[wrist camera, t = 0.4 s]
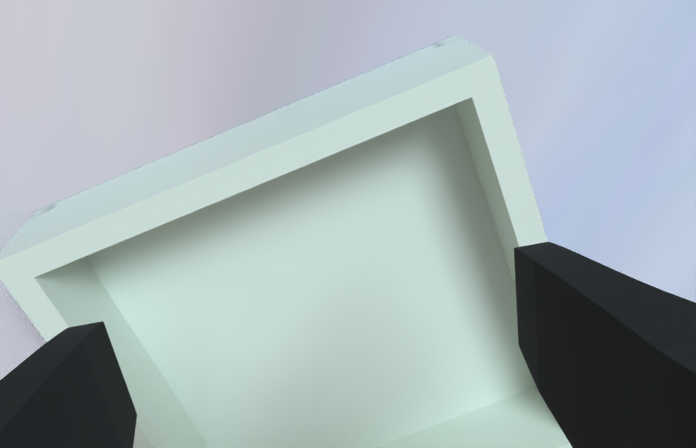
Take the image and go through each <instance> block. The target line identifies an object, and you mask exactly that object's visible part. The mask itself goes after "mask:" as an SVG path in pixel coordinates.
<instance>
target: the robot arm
mask: <svg viewBox="0 0 696 448" xmlns="http://www.w3.org/2000/svg"><path fill="white" fill-rule="evenodd" d="M514 262H515V282H516V303H517V324H518V344H519V347H520V350H521V352H522V354H523V357H524V359H525V361H526V364H527V366H528V369H529V371H530V373H531V375H532V378H533V380H534V382H535V384H536V387H537V389H538V391H539V393H540V395H541V396H542V398H543V400H544V401H545V403H546V405H547V406H548V408H549V410H550V411H551V413H552V415H553V416H554V418H555V420H556V421H557V423H558V425H559V426H560V428H561V430H562V431H563V433H564V434H565V436H566V438H567V439H568V441H569V443H570V444H571V446H572V447H573V448H696V303H694V302H692V301H689V300H686V299H684V298H681V297H678V296H676V295H673V294H670V293H668V292H665V291H663V290H660V289H658V288H655V287H653V286H650V285H648V284H645V283H643V282H641V281H638V280H636V279H634V278H631V277H629V276H627V275H625V274H622V273H620V272H618V271H615V270H613V269H611V268H609V267H607V266H604V265H602V264H600V263H598V262H596V261H593V260H591V259H589V258H587V257H584V256H582V255H580V254H578V253H576V252H573V251H571V250H569V249H566V248H564V247H562V246H559V245H556V244H553V243H551V242H544V243H538V244H533V245H527V246H521V247H516V248H514ZM136 420H137V412H136V410H135V407H134V404H133V401H132V399H131V396H130V393H129V390H128V388H127V385H126V382H125V379H124V377H123V374H122V371H121V368H120V366H119V363H118V360H117V357H116V355H115V352H114V349H113V346H112V344H111V341H110V338H109V335H108V333H107V330H106V327H105V324H104V322H103V321H102V322H96V323H90V324H85V325H79V326H74V327H68V328H67V329H65V330H64V331H62V332H60V333H59V334H58V335H56V336H55V337H53V338H52V339H51V340H49V341H48V342H47V343H46V344H44V345H43V346H42V347H40V348H39V349H38V350H37V351H36V352H34V353H33V354H32V355H31V356H29V357H28V358H27V359H26V360H24V361H23V362H22V363H21V364H20V365H18V366H17V367H16V368H15V369H14V370H12V371H11V372H10V373H9V374H8V375H6V376H5V377H4V378H3V379H1V380H0V448H133V444H134V436H135V428H136Z"/></svg>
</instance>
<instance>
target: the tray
mask: <svg viewBox="0 0 696 448" xmlns="http://www.w3.org/2000/svg"><path fill="white" fill-rule="evenodd" d="M544 242H548V241H547V237H546V234H545V230H544V227H543V224H542V220H541V217H540V213H539V210H538V206H537V203H536V200H535V196H534V193H533V189H532V186H531V183H530V179H529V176H528V172H527V169H526V165H525V162H524V159H523V155H522V152H521V148H520V145H519V142H518V138H517V135H516V131H515V128H514V124H513V121H512V118H511V114H510V111H509V107H508V104H507V101H506V97H505V94H504V90H503V87H502V83H501V80H500V77H499V73H498V70H497V66H496V63H495V60H494V56H493V54H491V53H489V52H487V51H486V50H484V49H482V48H480V47H479V46H477V45H475V44H473V43H472V42H470V41H468V40H466V39H465V38H463V37H461V36H459V35H457V34H456V35H454V36H451V37H449V38H446V39H444V40H442V41H439V42H437V43H434V44H432V45H430V46H427V47H425V48H423V49H420V50H418V51H415V52H413V53H411V54H408V55H406V56H404V57H401V58H399V59H396V60H394V61H392V62H389V63H387V64H385V65H382V66H380V67H377V68H375V69H373V70H370V71H368V72H365V73H363V74H361V75H358V76H356V77H354V78H351V79H349V80H346V81H344V82H342V83H339V84H337V85H335V86H332V87H330V88H327V89H325V90H323V91H320V92H318V93H316V94H313V95H311V96H308V97H306V98H304V99H301V100H299V101H296V102H294V103H292V104H289V105H287V106H285V107H282V108H280V109H277V110H275V111H273V112H270V113H268V114H266V115H263V116H261V117H258V118H256V119H254V120H251V121H249V122H246V123H244V124H242V125H239V126H237V127H235V128H232V129H230V130H227V131H225V132H223V133H220V134H218V135H216V136H213V137H211V138H208V139H206V140H204V141H201V142H199V143H197V144H194V145H192V146H189V147H187V148H185V149H182V150H180V151H177V152H175V153H173V154H170V155H168V156H166V157H163V158H161V159H158V160H156V161H154V162H151V163H149V164H147V165H144V166H142V167H139V168H137V169H135V170H132V171H130V172H128V173H125V174H123V175H120V176H118V177H116V178H113V179H111V180H108V181H106V182H104V183H101V184H99V185H97V186H94V187H92V188H89V189H87V190H85V191H82V192H80V193H78V194H75V195H73V196H70V197H68V198H66V199H63V200H61V201H59V202H56V203H54V204H51V205H49V206H47V207H44V208H42V209H39V210H37V211H36V212H35V213H34V214H33V215H32V216H31V217H30V218H29V220H28V221H27V222H26V223H25V224H24V225H23V226H22V228H21V229H20V230H19V231H18V232H17V233H16V234H15V236H14V237H13V238H12V239H11V240H10V241H9V242H8V244H7V245H6V246H5V247H4V248H3V249H2V250H1V252H0V280H1V281H2V282H3V284H4V285H5V286H6V288H7V289H8V290H9V292H10V293H11V295H12V296H13V297H14V299H15V300H16V301H17V303H18V304H19V305H20V307H21V308H22V309H23V311H24V312H25V314H26V315H27V316H28V318H29V319H30V320H31V322H32V323H33V324H34V326H35V327H36V329H37V330H38V331H39V333H40V334H41V335H42V337H43V338H44V339H45V341H46V342H48V341H49V340H51V339H52V338H53V337H55V336H56V335H58V334H59V333H60V332H62V331H64V330H65V329H67V328H68V327H74V326H79V325H85V324H90V323H96V322H102V321H103V322H104V324H105V327H106V330H107V333H108V335H109V338H110V341H111V344H112V346H113V349H114V352H115V355H116V357H117V360H118V363H119V366H120V368H121V371H122V374H123V377H124V379H125V382H126V385H127V388H128V390H129V393H130V396H131V399H132V401H133V404H134V407H135V410H136V412H137V420H136V428H135V436H134V444H133V448H573V447H572V446H571V444H570V443H569V441H568V439H567V438H566V436H565V434H564V433H563V431H562V430H561V428H560V426H559V425H558V423H557V421H556V420H555V418H554V416H553V415H552V413H551V411H550V410H549V408H548V406H547V405H546V403H545V401H544V400H543V398H542V396H541V395H540V393H539V391H538V389H537V387H536V384H535V382H534V380H533V378H532V375H531V373H530V371H529V369H528V366H527V364H526V361H525V359H524V357H523V354H522V352H521V350H520V347H519V344H518V324H517V303H516V282H515V262H514V248H516V247H521V246H527V245H533V244H538V243H544Z"/></svg>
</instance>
